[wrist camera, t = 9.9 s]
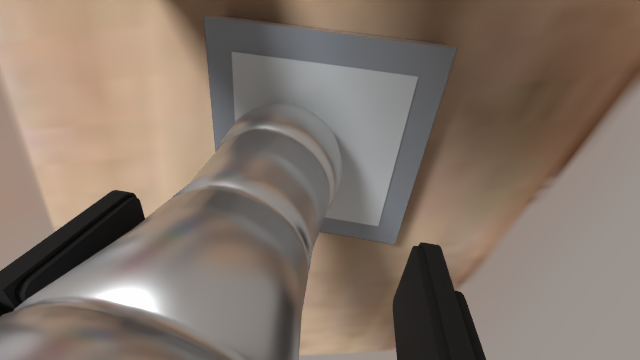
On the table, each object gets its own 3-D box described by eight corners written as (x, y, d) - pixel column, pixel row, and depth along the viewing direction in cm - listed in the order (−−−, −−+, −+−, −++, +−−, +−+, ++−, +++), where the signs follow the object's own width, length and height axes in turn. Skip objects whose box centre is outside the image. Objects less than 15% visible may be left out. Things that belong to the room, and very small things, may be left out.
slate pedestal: (223, 16, 17) (202, 16, 15) (445, 44, 16) (457, 48, 14) (234, 196, 24) (220, 215, 22) (392, 223, 23) (394, 246, 21)
